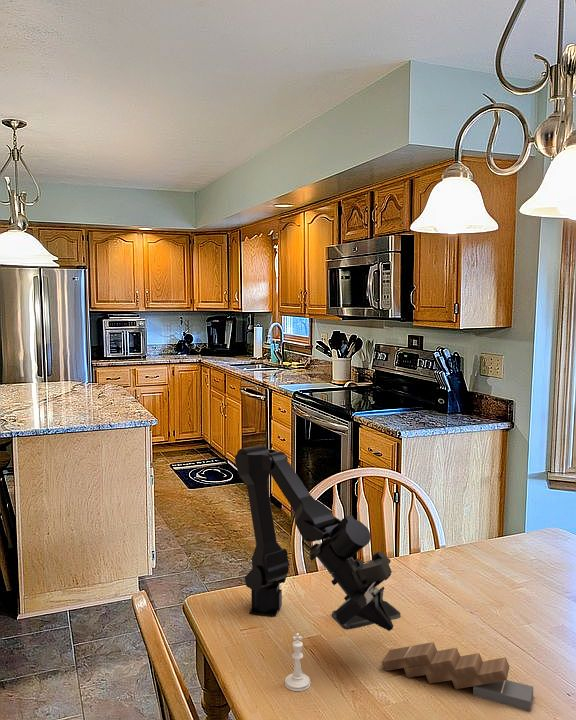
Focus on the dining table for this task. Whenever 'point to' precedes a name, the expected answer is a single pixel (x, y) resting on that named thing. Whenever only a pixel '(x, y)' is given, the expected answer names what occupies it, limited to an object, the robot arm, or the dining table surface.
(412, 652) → the domino
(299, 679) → the chess piece
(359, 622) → the phone
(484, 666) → the domino
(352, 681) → the dining table surface
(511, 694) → the domino
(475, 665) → the domino
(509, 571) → the dining table surface
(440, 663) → the domino
